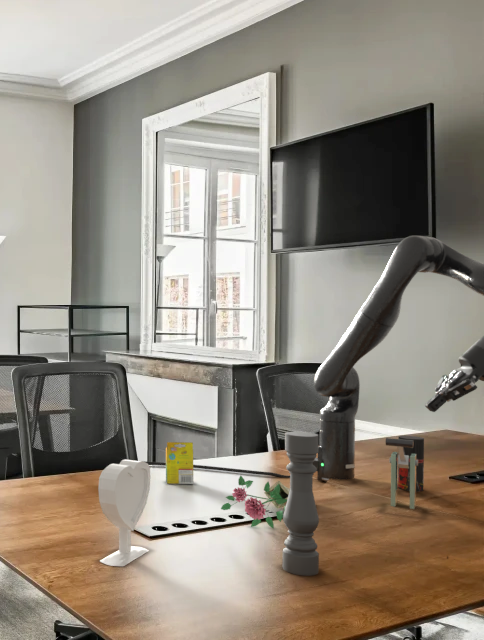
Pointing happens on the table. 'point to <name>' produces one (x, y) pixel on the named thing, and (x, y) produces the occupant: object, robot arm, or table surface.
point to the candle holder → (301, 505)
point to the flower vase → (255, 510)
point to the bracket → (394, 465)
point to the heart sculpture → (124, 504)
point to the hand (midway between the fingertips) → (429, 408)
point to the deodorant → (405, 472)
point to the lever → (401, 450)
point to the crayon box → (179, 463)
